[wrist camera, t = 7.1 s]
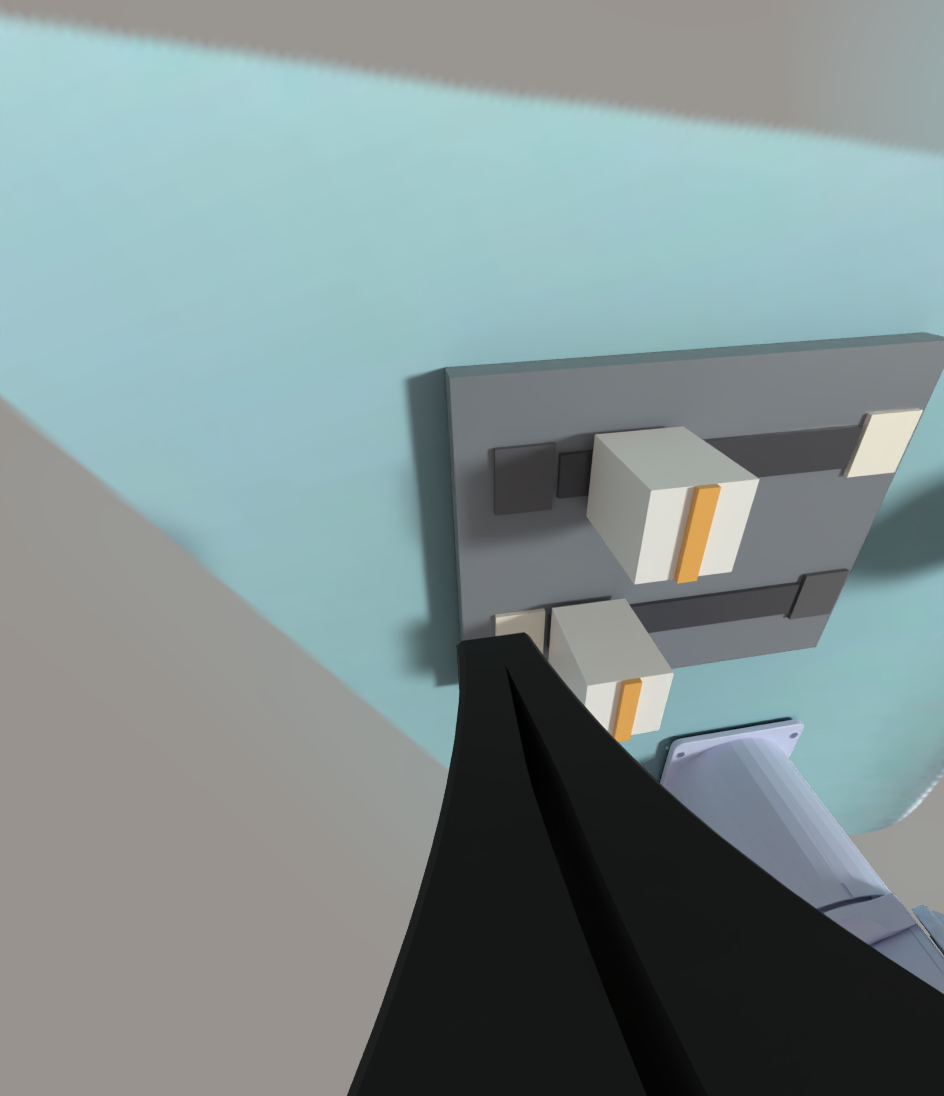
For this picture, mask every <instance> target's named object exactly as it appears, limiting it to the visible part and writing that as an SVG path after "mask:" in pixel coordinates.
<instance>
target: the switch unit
mask: <svg viewBox="0 0 944 1096" xmlns="http://www.w3.org/2000/svg"><path fill="white" fill-rule="evenodd" d="M943 369H944V337H943V336H938V335H934V334H929V333H912V334H898V335H885V336H871V337H857V338H844V339H830V340H816V341H803V342H789V343H775V344H762V345H748V346H734V347H720V348H707V349H693V350H679V351H666V352H652V353H638V354H625V355H611V356H597V357H583V358H570V359H556V360H542V361H529V362H515V363H501V364H488V365H474V366H460V367H447V368H445V377H446V395H447V412H448V430H449V447H450V465H451V482H452V500H453V517H454V535H455V552H456V570H457V587H458V605H459V622H460V640H461V641H464V640H471V639H478V638H486V637H493V636H500V635H507V634H515V633H522V632H525V633H526V634H528V635H529V636H530V637H531V639H532V640H533V642H534V643H535V644H536V646H537V647H538V649H539V650H540V651H541V653H542V654H543V655H544V657H545V658H546V659H547V661H548V658H549V644H550V630H551V616H552V608H556V607H564V606H571V605H579V604H586V603H594V602H601V601H609V600H617V599H624V598H625V599H626V600H627V602H628V603H629V605H630V606H631V608H632V610H633V611H634V613H635V614H636V616H637V617H638V619H639V620H640V622H641V623H642V625H643V626H644V628H645V629H646V631H647V632H648V634H649V635H650V637H651V638H652V640H653V641H654V643H655V645H656V646H657V648H658V649H659V651H660V652H661V654H662V655H663V657H664V658H665V660H666V661H667V663H668V664H669V666H670V667H671V669H673V668H680V667H686V666H693V665H700V664H706V663H713V662H720V661H726V660H733V659H739V658H746V657H753V656H759V655H766V654H773V653H779V652H786V651H792V650H799V649H806V648H812V647H816V645H817V643H818V641H819V639H820V637H821V635H822V632H823V630H824V628H825V626H826V624H827V622H828V619H829V617H830V615H831V613H832V611H833V608H834V606H835V604H836V602H837V600H838V598H839V595H840V593H841V591H842V589H843V587H844V584H845V582H846V580H847V578H848V576H849V574H850V571H851V569H852V567H853V565H854V563H855V561H856V558H857V556H858V554H859V552H860V550H861V547H862V545H863V543H864V541H865V539H866V537H867V534H868V532H869V530H870V528H871V526H872V523H873V521H874V519H875V517H876V515H877V513H878V510H879V508H880V506H881V504H882V502H883V499H884V497H885V495H886V493H887V491H888V489H889V486H890V484H891V482H892V480H893V478H894V476H895V473H896V471H897V469H898V467H899V465H900V462H901V460H902V458H903V456H904V454H905V452H906V449H907V447H908V445H909V443H910V441H911V438H912V436H913V434H914V432H915V430H916V428H917V425H918V423H919V421H920V419H921V417H922V414H923V412H924V410H925V408H926V406H927V404H928V401H929V399H930V397H931V395H932V393H933V391H934V388H935V386H936V384H937V382H938V380H939V377H940V375H941V373H942V371H943ZM682 426H683V427H685V428H686V429H688V430H689V431H691V432H692V433H694V434H695V435H697V436H698V437H699V438H701V439H702V440H704V441H705V442H707V443H708V444H710V445H711V446H712V447H714V448H715V449H717V450H718V451H720V452H721V453H723V454H724V455H726V456H727V457H728V458H730V459H731V460H733V461H734V462H736V463H737V464H739V465H740V466H741V467H743V468H744V469H746V470H747V471H749V472H750V473H752V474H753V475H754V476H756V477H757V478H759V479H760V480H759V483H758V486H757V489H756V493H755V496H754V499H753V503H752V506H751V509H750V513H749V516H748V519H747V522H746V526H745V529H744V532H743V536H742V539H741V542H740V546H739V549H738V552H737V555H736V559H735V562H734V565H733V569H732V572H727V573H719V574H711V575H704V576H698V578H697V581H692V582H685V583H676V581H675V580H674V579H673V580H665V581H657V582H650V583H642V584H634V583H633V582H632V580H631V579H630V577H629V576H628V575H627V573H626V572H625V570H624V569H623V567H622V566H621V565H620V563H619V562H618V560H617V559H616V558H615V556H614V555H613V553H612V552H611V551H610V549H609V548H608V546H607V545H606V543H605V542H604V541H603V539H602V538H601V536H600V535H599V534H598V532H597V531H596V529H595V528H594V526H593V525H592V524H591V522H590V521H589V519H588V518H587V517H586V514H587V505H588V495H589V486H590V476H591V467H592V457H593V448H594V438H595V434H605V433H616V432H627V431H638V430H649V429H660V428H671V427H682Z"/></svg>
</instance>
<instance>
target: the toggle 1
mask: <svg viewBox="0 0 944 1096" xmlns="http://www.w3.org/2000/svg"><path fill="white" fill-rule="evenodd" d="M759 480H760V479H759V478H757V477H756V476H754V475H753V474H752V473H750V472H749V471H747V470H746V469H744V468H743V467H741V466H740V465H739V464H737V463H736V462H734V461H733V460H731V459H730V458H728V457H727V456H726V455H724V454H723V453H721V452H720V451H718V450H717V449H715V448H714V447H712V446H711V445H710V444H708V443H707V442H705V441H704V440H702V439H701V438H699V437H698V436H697V435H695V434H694V433H692V432H691V431H689V430H688V429H686V428H685V427H683V426H682V427H671V428H660V429H649V430H638V431H627V432H616V433H605V434H595V438H594V448H593V457H592V467H591V476H590V486H589V495H588V505H587V514H586V517H587V518H588V519H589V521H590V522H591V524H592V525H593V526H594V528H595V529H596V531H597V532H598V534H599V535H600V536H601V538H602V539H603V541H604V542H605V543H606V545H607V546H608V548H609V549H610V551H611V552H612V553H613V555H614V556H615V558H616V559H617V560H618V562H619V563H620V565H621V566H622V567H623V569H624V570H625V572H626V573H627V575H628V576H629V577H630V579H631V580H632V582H633V583H634V584H642V583H650V582H657V581H665V580H673V579H674V580H675V581H676V583H685V582H692V581H697V578H698V576H704V575H711V574H719V573H727V572H732V569H733V565H734V562H735V559H736V555H737V552H738V549H739V546H740V542H741V539H742V536H743V532H744V529H745V526H746V522H747V519H748V516H749V513H750V509H751V506H752V503H753V499H754V496H755V493H756V489H757V486H758V483H759Z"/></svg>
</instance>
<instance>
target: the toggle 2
mask: <svg viewBox="0 0 944 1096" xmlns="http://www.w3.org/2000/svg"><path fill="white" fill-rule="evenodd" d="M548 662H549V663H550V665H551V666H552V667H553V668H554V670H555V671H556V672H557V673H558V675H559V676H560V677H561V678H562V680H563V681H564V682H565V683H566V685H567V686H568V687H569V688H570V689H571V691H572V692H573V693H574V694H575V695H576V697H577V698H578V699H579V700H580V701H581V702H582V703H583V704H584V706H585V707H586V708H587V709H588V710H589V711H590V712H591V714H592V715H593V716H594V717H595V718H596V719H597V720H598V721H599V723H600V724H601V725H602V726H603V727H604V728H605V729H606V730H607V731H608V732H609V733H610V734H611V735H612V736H613V738H614V739H615V740H616V741H617V742H622V741H628V740H630V737H631V735H634V734H640V733H646V732H652V731H658V730H659V728H660V724H661V720H662V716H663V713H664V709H665V705H666V701H667V697H668V693H669V690H670V686H671V682H672V678H673V674H674V672H673V670H672V669H671V667H670V666H669V664H668V663H667V661H666V660H665V658H664V657H663V655H662V654H661V652H660V651H659V649H658V648H657V646H656V645H655V643H654V641H653V640H652V638H651V637H650V635H649V634H648V632H647V631H646V629H645V628H644V626H643V625H642V623H641V622H640V620H639V619H638V617H637V616H636V614H635V613H634V611H633V610H632V608H631V606H630V605H629V603H628V602H627V600H626V599H625V598H624V599H617V600H609V601H601V602H594V603H586V604H579V605H571V606H564V607H556V608H552V616H551V630H550V644H549V658H548Z"/></svg>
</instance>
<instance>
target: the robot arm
mask: <svg viewBox="0 0 944 1096" xmlns="http://www.w3.org/2000/svg"><path fill="white" fill-rule="evenodd" d="M457 660H458V676H459V706H458V714H457V723H456V732H455V740H454V746H453V752H452V757H451V763H450V768H449V774H448V779H447V785H446V789H445V794H444V799H443V803H442V808H441V812H440V816H439V821H438V824H437V828H436V832H435V836H434V840H433V844H432V848H431V852H430V856H429V859H428V862H427V866H426V869H425V873H424V876H423V880H422V883H421V887H420V890H419V894H418V897H417V900H416V904H415V907H414V910H413V913H412V917H411V920H410V923H409V926H408V929H407V932H406V935H405V938H404V941H403V944H402V947H401V950H400V953H399V956H398V958H397V961H396V964H395V967H394V970H393V973H392V976H391V979H390V982H389V985H388V988H387V991H386V994H385V996H384V999H383V1002H382V1006H381V1008H380V1011H379V1014H378V1016H377V1019H376V1022H375V1025H374V1027H373V1030H372V1033H371V1035H370V1038H369V1040H368V1043H367V1045H366V1048H365V1051H364V1053H363V1056H362V1059H361V1061H360V1063H359V1066H358V1069H357V1071H356V1074H355V1077H354V1079H353V1082H352V1084H351V1087H350V1089H349V1092H348V1095H347V1096H944V958H943V956H942V955H941V954H940V952H939V951H938V950H937V949H936V947H935V946H934V945H933V943H932V942H931V941H930V939H929V938H928V937H927V936H926V934H925V933H924V932H923V930H922V929H921V928H920V927H919V926H918V924H917V923H916V921H915V920H914V919H913V918H912V916H911V915H910V913H909V912H908V911H907V910H906V908H905V907H904V906H903V904H902V903H901V902H900V901H899V899H898V898H897V897H896V895H895V894H894V893H891V892H890V891H889V889H888V888H887V887H886V885H885V884H884V883H883V881H882V880H881V879H880V878H879V876H878V875H877V874H876V872H875V871H874V870H873V868H872V867H871V866H870V864H869V863H868V862H867V861H866V859H865V858H864V857H863V855H862V854H861V853H860V851H859V850H858V849H857V848H856V846H855V845H854V844H853V842H852V841H851V840H850V838H849V837H848V836H847V834H846V833H845V832H844V830H843V829H842V828H841V826H840V825H839V824H838V823H837V821H836V820H835V819H834V817H833V816H832V815H831V813H830V812H829V811H828V809H827V808H826V807H825V805H824V804H823V803H822V802H821V800H820V799H819V798H818V796H817V795H816V794H815V792H814V791H813V790H812V788H811V787H810V786H809V785H808V783H807V782H806V781H805V779H804V778H803V777H802V775H801V774H800V773H799V771H798V770H797V769H796V768H795V766H794V765H793V764H792V762H791V761H790V760H789V757H790V755H791V753H792V751H793V749H794V747H795V745H796V743H797V741H798V739H799V737H800V735H801V733H802V731H803V728H804V725H803V724H802V722H801V721H800V720H798V719H793V720H787V721H782V722H776V723H770V724H764V725H758V726H752V727H746V728H740V729H734V730H728V731H722V732H716V733H710V734H704V735H698V736H693V737H687V738H681V739H677V740H675V741H674V742H673V743H672V744H671V746H670V750H669V753H668V757H667V760H666V763H665V767H664V770H663V774H662V777H661V781H660V783H659V782H658V781H657V780H656V779H655V778H654V777H653V776H652V775H651V774H649V773H648V772H647V771H646V770H645V769H644V768H643V767H642V766H641V765H640V764H639V763H638V762H637V761H636V760H635V759H634V758H633V757H632V756H631V755H630V754H629V753H628V752H627V751H626V750H625V749H624V748H623V747H622V746H621V745H620V744H619V743H618V742H617V741H616V740H615V739H614V738H613V736H612V735H611V734H610V733H609V732H608V731H607V730H606V729H605V728H604V727H603V726H602V725H601V724H600V723H599V721H598V720H597V719H596V718H595V717H594V716H593V715H592V714H591V712H590V711H589V710H588V709H587V708H586V707H585V706H584V704H583V703H582V702H581V701H580V700H579V699H578V698H577V697H576V695H575V694H574V693H573V692H572V691H571V689H570V688H569V687H568V686H567V685H566V683H565V682H564V681H563V680H562V678H561V677H560V676H559V675H558V673H557V672H556V671H555V670H554V668H553V667H552V666H551V665H550V663H549V662H548V661H547V659H546V658H545V657H544V655H543V654H542V653H541V651H540V650H539V649H538V647H537V646H536V644H535V643H534V642H533V640H532V639H531V637H530V636H529V635H528V634H526V633H525V632H522V633H515V634H507V635H500V636H493V637H486V638H478V639H471V640H464V641H461V642H460V643H459V644H458V645H457ZM912 911H913V913H914V914H915V915H916V916H917V918H918V919H919V921H920V922H921V923H922V925H923V926H924V927H925V929H926V930H927V931H928V933H929V934H930V937H931V939H932V940H933V941H934V943H935V944H936V945H937V947H938V948H939V949H940V951H941V952H942V953H943V955H944V914H941V913H939V912H936V911H931V910H930V909H929V908H927V907H926V906H924V905H921V906H918V907H916V908H913V909H912Z"/></svg>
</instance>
